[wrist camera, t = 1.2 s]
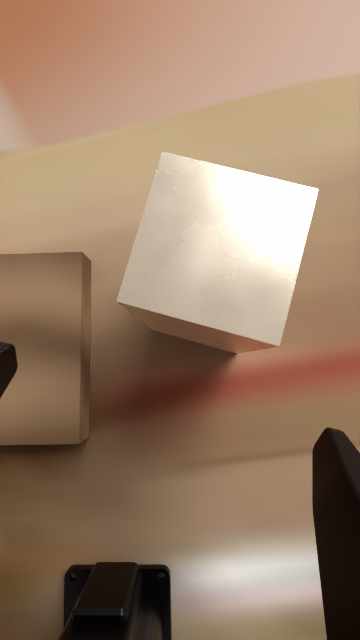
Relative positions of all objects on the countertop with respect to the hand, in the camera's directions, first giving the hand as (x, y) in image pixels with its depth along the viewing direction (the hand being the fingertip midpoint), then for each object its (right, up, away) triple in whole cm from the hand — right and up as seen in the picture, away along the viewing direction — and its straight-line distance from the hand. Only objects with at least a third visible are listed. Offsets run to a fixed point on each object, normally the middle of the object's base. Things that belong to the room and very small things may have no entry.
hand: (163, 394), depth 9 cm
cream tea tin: (+2, +4, +14) cm, 14 cm away
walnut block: (-12, 0, +14) cm, 18 cm away
